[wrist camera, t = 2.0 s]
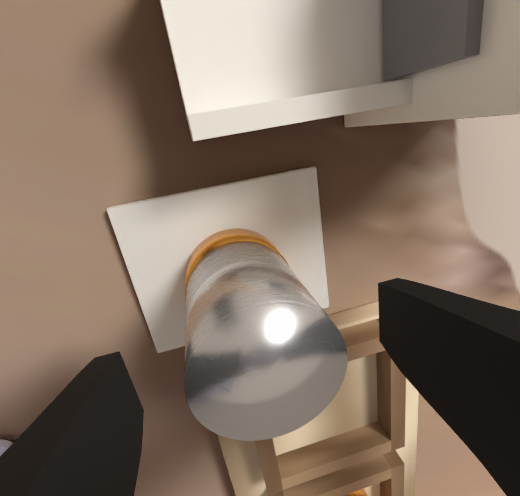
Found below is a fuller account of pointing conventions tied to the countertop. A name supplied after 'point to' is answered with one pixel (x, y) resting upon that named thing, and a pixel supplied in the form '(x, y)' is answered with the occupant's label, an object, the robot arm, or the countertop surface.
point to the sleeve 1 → (255, 341)
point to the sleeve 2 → (358, 493)
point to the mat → (207, 223)
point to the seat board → (341, 430)
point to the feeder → (342, 61)
